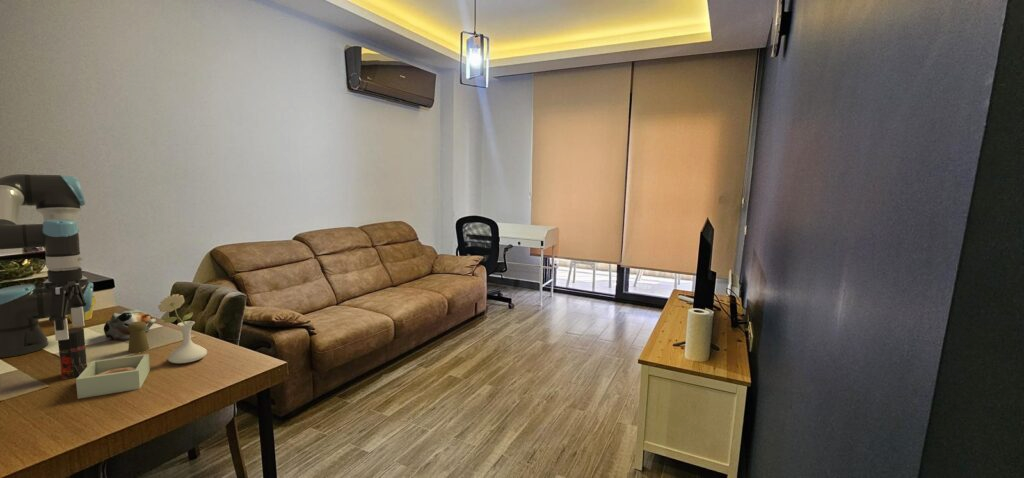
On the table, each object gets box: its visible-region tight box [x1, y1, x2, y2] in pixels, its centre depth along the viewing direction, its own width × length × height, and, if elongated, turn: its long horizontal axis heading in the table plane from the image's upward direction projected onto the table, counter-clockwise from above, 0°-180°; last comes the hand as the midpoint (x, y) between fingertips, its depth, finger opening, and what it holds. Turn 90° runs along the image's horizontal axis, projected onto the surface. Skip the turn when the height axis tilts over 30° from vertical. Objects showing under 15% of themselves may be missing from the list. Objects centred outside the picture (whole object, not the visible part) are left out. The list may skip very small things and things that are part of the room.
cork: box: [127, 321, 150, 354], centre depth 157 cm, size 6×6×11 cm
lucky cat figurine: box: [103, 309, 158, 341], centre depth 169 cm, size 15×12×14 cm
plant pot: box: [67, 295, 96, 323], centre depth 184 cm, size 10×10×10 cm
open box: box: [75, 353, 151, 400], centre depth 132 cm, size 14×14×6 cm
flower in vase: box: [157, 293, 208, 364], centre depth 150 cm, size 13×11×25 cm
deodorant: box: [57, 327, 88, 380], centre depth 136 cm, size 6×6×15 cm
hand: (70, 332), depth 135 cm, fingers open, 13 cm apart
